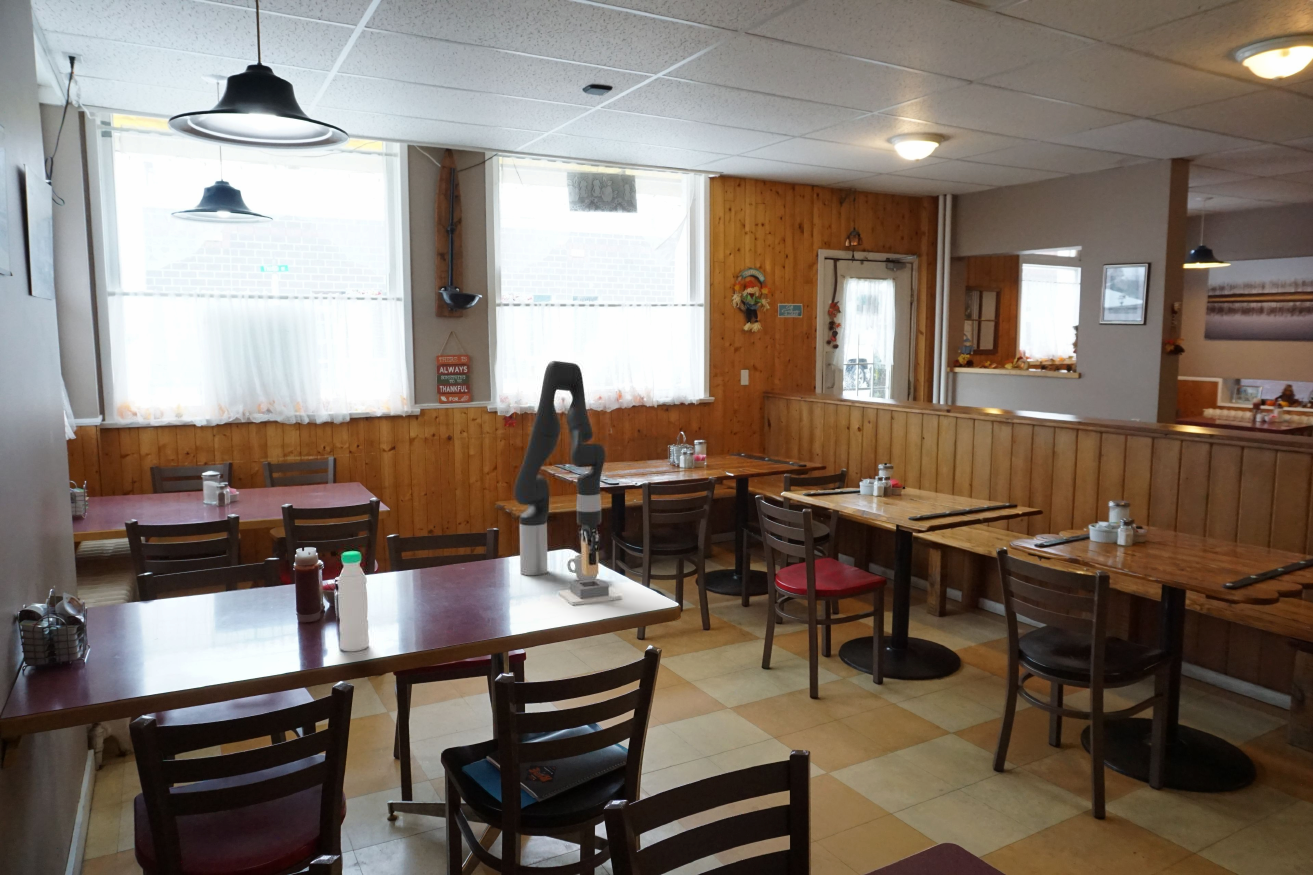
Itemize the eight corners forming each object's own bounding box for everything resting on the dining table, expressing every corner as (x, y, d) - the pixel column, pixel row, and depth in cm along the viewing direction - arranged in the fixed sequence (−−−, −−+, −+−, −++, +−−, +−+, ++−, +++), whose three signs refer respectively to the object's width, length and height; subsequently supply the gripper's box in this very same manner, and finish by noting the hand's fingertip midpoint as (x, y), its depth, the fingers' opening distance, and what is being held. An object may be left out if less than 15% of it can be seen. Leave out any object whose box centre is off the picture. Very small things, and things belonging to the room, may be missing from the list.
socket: (558, 594, 272) (557, 581, 271) (605, 588, 279) (605, 576, 278) (572, 605, 260) (571, 592, 260) (621, 598, 267) (621, 586, 266)
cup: (563, 581, 287) (562, 557, 286) (572, 575, 294) (572, 552, 294) (593, 584, 284) (593, 560, 283) (602, 577, 291) (602, 554, 290)
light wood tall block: (581, 572, 270) (581, 533, 268) (593, 571, 271) (593, 531, 270) (586, 575, 266) (585, 535, 265) (598, 573, 268) (597, 534, 266)
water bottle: (359, 641, 229) (355, 548, 226) (374, 646, 224) (371, 552, 222) (334, 648, 223) (330, 553, 221) (349, 654, 219) (346, 557, 216)
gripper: (609, 511, 262) (609, 566, 263) (592, 503, 275) (592, 557, 276) (585, 513, 259) (586, 569, 260) (569, 505, 271) (570, 559, 273)
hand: (589, 562), depth 268 cm, fingers closed on light wood tall block, 4 cm apart
